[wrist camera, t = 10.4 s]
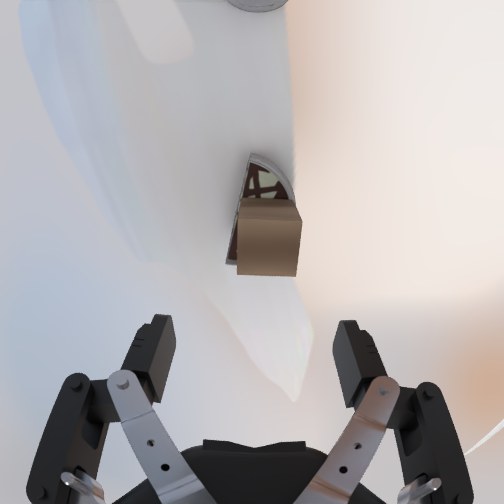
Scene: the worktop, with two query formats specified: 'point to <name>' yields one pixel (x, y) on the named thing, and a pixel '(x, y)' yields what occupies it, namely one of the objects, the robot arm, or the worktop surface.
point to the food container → (259, 192)
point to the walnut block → (268, 237)
